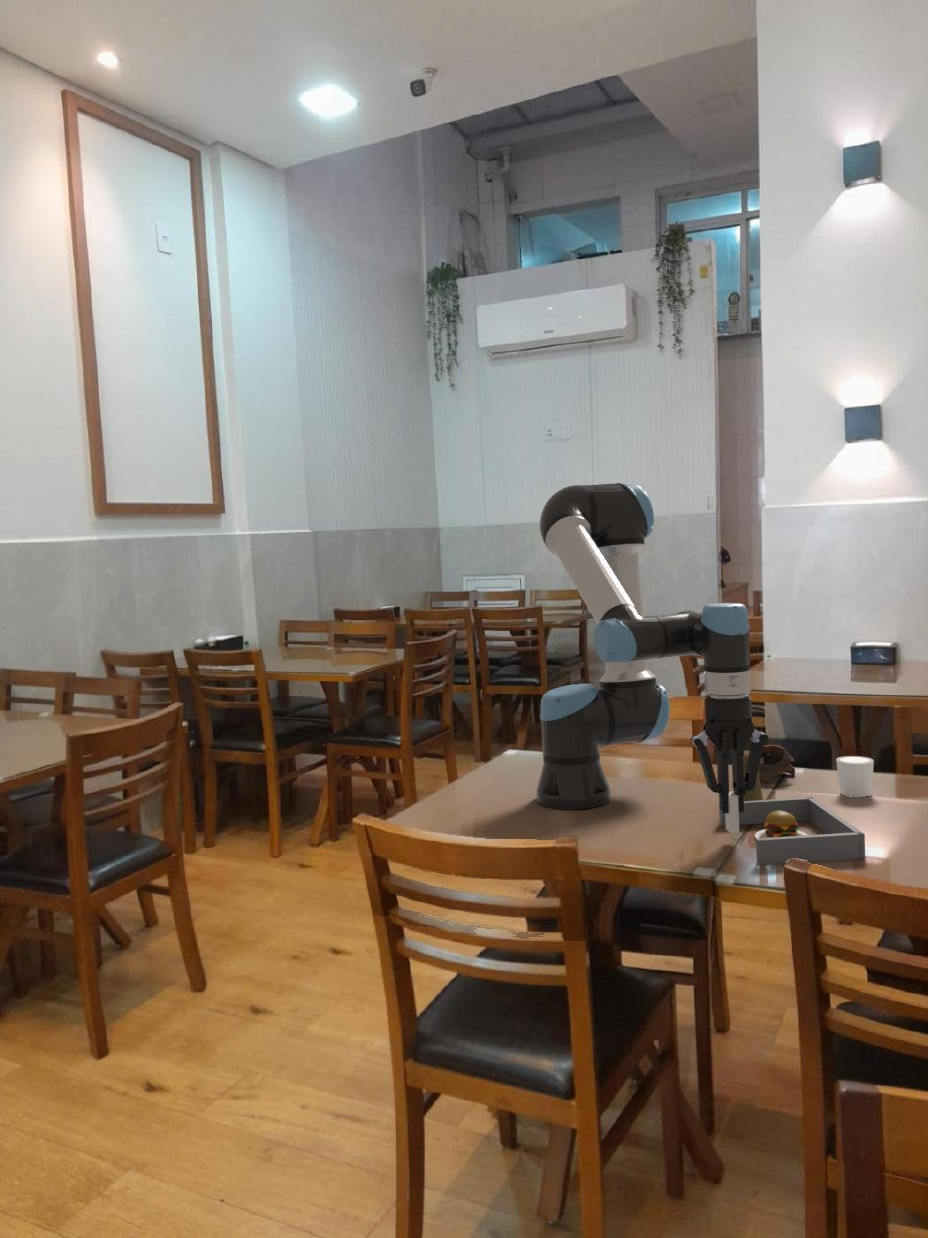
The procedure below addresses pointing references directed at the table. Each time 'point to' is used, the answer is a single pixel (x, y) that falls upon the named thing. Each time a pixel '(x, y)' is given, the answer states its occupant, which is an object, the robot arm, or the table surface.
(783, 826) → the hamburger
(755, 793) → the olive green pepper shaker
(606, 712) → the robot arm
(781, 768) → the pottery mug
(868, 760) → the white cup
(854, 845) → the box
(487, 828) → the table surface
